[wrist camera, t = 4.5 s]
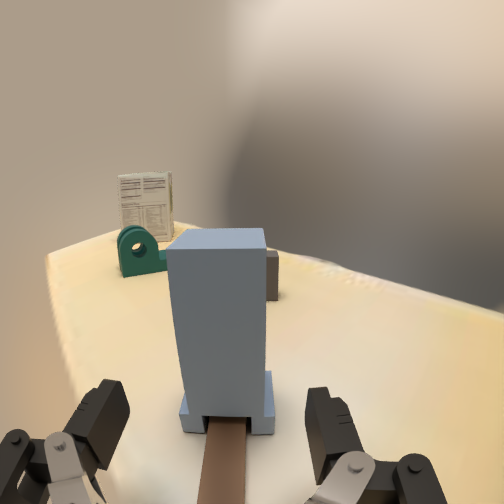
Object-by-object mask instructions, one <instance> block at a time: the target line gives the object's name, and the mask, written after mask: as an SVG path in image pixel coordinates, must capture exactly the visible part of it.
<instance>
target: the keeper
mask: <svg viewBox="0 0 504 504" xmlns="http://www.w3.org/2000/svg"><path fill="white" fill-rule="evenodd" d="M166 259H167V270H168V280H169V289H170V298H171V306H172V314H173V322H174V329H175V336H176V343H177V349H178V356H179V362H180V368H181V374H182V379H183V385H184V390H185V393H184V397H183V401H182V404H181V408H180V412H179V416H180V420H181V424H182V428H183V431H185V432H197V433H205V428H206V422H207V416H224V417H251V422H252V434H274V426H275V410H274V398H273V387H272V375H271V371H265V347H266V243H265V237H264V232H263V228H226V229H225V228H222V229H187V230H186V231H185V232H183V233H182V234H181V235H180V236H179V237H178V238H177V239H176V240H175V241H174V242H173V243H172V244H171V245H170V246H169V247H168V248H166Z"/></svg>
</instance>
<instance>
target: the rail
mask: <svg viewBox="0 0 504 504" xmlns="http://www.w3.org/2000/svg"><path fill="white" fill-rule="evenodd" d="M245 449H246V417H224V416H210V419H209V426H208V432H207V439H206V445H205V452H204V458H203V465H202V472H201V479H200V486H199V493H198V500H197V504H244V497H245Z"/></svg>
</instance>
